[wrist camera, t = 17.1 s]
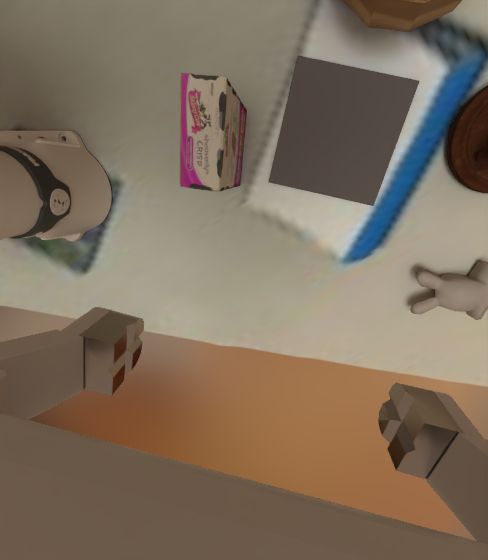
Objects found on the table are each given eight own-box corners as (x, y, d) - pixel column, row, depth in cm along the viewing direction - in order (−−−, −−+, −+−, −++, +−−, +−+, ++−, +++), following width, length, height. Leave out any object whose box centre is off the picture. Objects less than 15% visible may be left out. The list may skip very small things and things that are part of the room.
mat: (268, 182, 46) (268, 182, 45) (297, 57, 40) (297, 55, 39) (372, 205, 45) (373, 205, 45) (417, 82, 39) (419, 81, 39)
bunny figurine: (514, 322, 45) (419, 326, 45) (488, 308, 50) (402, 312, 50) (531, 265, 42) (428, 270, 42) (501, 256, 47) (410, 261, 47)
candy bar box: (215, 107, 43) (179, 69, 28) (247, 109, 43) (228, 72, 27) (211, 184, 47) (177, 187, 32) (240, 187, 47) (221, 192, 31)
